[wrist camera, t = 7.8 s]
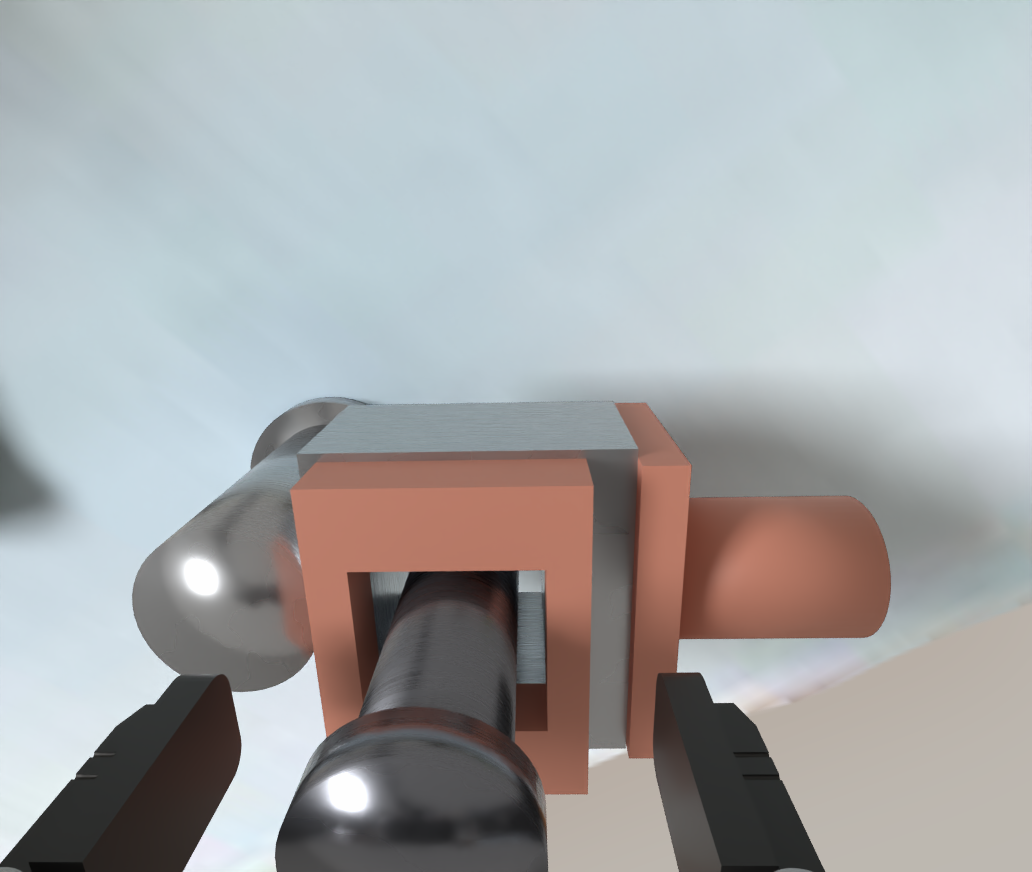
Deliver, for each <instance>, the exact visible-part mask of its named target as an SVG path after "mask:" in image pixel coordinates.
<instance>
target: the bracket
mask: <svg viewBox="0 0 1032 872" xmlns="http://www.w3.org/2000/svg"><path fill="white" fill-rule="evenodd" d="M614 404H615V406H616V408H617V410H618V411H619V413H620V415H621V417H622V419H623V421H624V423H625V424H626V426H627V428H628V430H629V432H630V434H631V436H632V438H633V439H634V441H635V443H636V445H637V447H638V472H637V495H636V519H635V542H634V565H633V588H632V611H631V634H630V657H629V680H628V703H627V726H626V746H627V751H628V755H629V758H654V756H653V729H654V712H655V696H656V681H657V675H658V673H677V660H678V646H679V639H757V638H865V637H869V636H871V635H873V634H874V633H875V632H877V630H878V629H879V628H880V627H881V625H882V623H883V621H884V619H885V617H886V614H887V610H888V606H889V601H890V591H891V575H890V565H889V559H888V554H887V550H886V546H885V542H884V539H883V536H882V534H881V531H880V529H879V527H878V525H877V523H876V521H875V519H874V517H873V516H872V514H871V513H870V511H869V510H868V509H867V508H866V507H865V506H864V505H863V504H862V503H861V502H860V501H858V500H857V499H855V498H853V497H850V496H788V497H710V498H689V494H690V480H691V467H692V465H691V464H690V463H689V461H688V460H687V458H686V457H685V456H684V454H683V453H682V452H681V450H680V449H679V448H678V446H677V445H676V443H675V442H674V441H673V439H672V438H671V437H670V435H669V434H668V432H667V431H666V430H665V428H664V427H663V426H662V424H661V423H660V422H659V420H658V419H657V417H656V416H655V415H654V413H653V412H652V411H651V409H650V408H649V406H648V405H647V404H646V403H614ZM290 493H291V500H292V507H293V513H294V520H295V527H296V534H297V540H298V547H299V554H300V561H301V567H302V574H303V581H304V588H305V594H306V601H307V608H308V615H309V621H310V628H311V635H312V642H313V648H314V655H315V662H316V669H317V675H318V682H319V689H320V696H321V702H322V709H323V716H324V723H325V729H326V736H327V737H328V736H329V735H331V734H332V733H333V732H334V731H336V730H337V729H338V728H340V727H342V726H343V725H345V724H347V723H349V722H350V721H352V720H355V719H357V718H358V717H359V714H360V711H361V708H362V705H363V702H364V700H365V697H366V694H367V691H368V688H369V685H370V682H371V680H372V677H373V674H374V671H375V668H376V665H377V662H378V660H379V653H378V644H377V635H376V626H375V617H374V608H373V598H372V589H371V580H370V572H414V571H513V570H545V659H546V683H540V684H516V718H515V744H517V745H518V746H519V747H520V748H521V750H522V751H523V752H524V753H525V754H526V755H527V756H528V758H529V759H530V761H531V762H532V764H533V765H534V767H535V768H536V770H537V772H538V775H539V777H540V779H541V781H542V785H543V789H544V793H545V794H588V750H589V698H590V647H591V595H592V544H593V493H594V485H593V482H592V478H591V474H590V471H589V467H588V463H587V459H516V460H446V461H376V462H316V463H315V464H314V465H313V466H312V467H311V468H310V469H309V470H308V471H307V472H306V473H305V474H304V476H303V477H302V478H301V479H300V480H299V481H298V482H297V483H296V484H295V485H294V486H293V487H292V488H291V489H290Z"/></svg>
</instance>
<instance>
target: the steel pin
mask: <svg viewBox="0 0 1032 872" xmlns="http://www.w3.org/2000/svg"><path fill="white" fill-rule="evenodd" d="M518 587H519V570H513V571H414V572H409V574H408V577H407V580H406V583H405V585H404V588H403V591H402V594H401V597H400V600H399V602H398V605H397V608H396V611H395V614H394V617H393V620H392V622H391V625H390V628H389V631H388V634H387V637H386V640H385V642H384V645H383V648H382V651H381V654H380V657H379V660H378V662H377V665H376V668H375V671H374V674H373V677H372V680H371V682H370V685H369V688H368V691H367V694H366V697H365V700H364V702H363V705H362V708H361V711H360V714H359V717H358V718H357V719H355V720H352V721H350V722H349V723H347V724H345V725H343V726H342V727H340V728H338V729H337V730H336V731H334V732H333V733H332V734H331V735H329V736H328V737H327V738H326V739H325V740H324V741H323V742H322V743H321V744H320V745H319V746H318V747H317V749H316V750H315V752H314V753H313V755H312V756H311V758H310V760H309V762H308V764H307V766H306V768H305V771H304V773H303V775H302V778H301V780H300V783H299V785H298V787H297V790H296V792H295V795H294V797H293V799H292V802H291V804H290V807H289V809H288V811H287V814H286V816H285V819H284V821H283V824H282V826H281V828H280V831H279V834H278V838H277V842H276V851H275V860H276V869H277V872H548V855H547V826H546V802H545V793H544V789H543V785H542V781H541V779H540V777H539V775H538V772H537V770H536V768H535V767H534V765H533V764H532V762H531V761H530V759H529V758H528V756H527V755H526V754H525V753H524V752H523V751H522V750H521V748H520V747H519V746H518V745H517V744H515V718H516V674H517V631H518Z"/></svg>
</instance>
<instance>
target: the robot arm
mask: <svg viewBox="0 0 1032 872" xmlns="http://www.w3.org/2000/svg"><path fill="white" fill-rule="evenodd" d="M768 753H769V752H768V750H767V748H766V746H765V743H764V741H763V739H762V738H761V735H760V733H759V731H758V729H757V726H756V725H755V724H754V723H753V722H752V721H751V720H750V719H749V718H748V717H747V716H746V715H745V714H744V713H743V712H742V711H741V710H740V709H739V708H738V707H737V706H736V705H735V704H734V703H713V701H712V698H711V696H710V693H709V691H708V688H707V686H706V683H705V681H704V679H703V676H702V675H701V674H700V673H658V675H657V681H656V696H655V712H654V729H653V756H654V765H655V771H656V778H657V782H658V786H659V790H660V794H661V798H662V803H663V807H664V811H665V815H666V819H667V823H668V828H669V832H670V836H671V840H672V844H673V848H674V853H675V856H676V861H677V865H678V869H679V872H825V870H824V868H823V866H822V865H821V862H820V860H819V858H818V856H817V854H816V852H815V849H814V847H813V845H812V843H811V841H810V839H809V837H808V835H807V832H806V830H805V828H804V826H803V824H802V822H801V820H800V818H799V815H798V814H797V811H796V809H795V807H794V805H793V803H792V801H791V799H790V796H789V795H788V792H787V790H786V788H785V786H784V784H783V782H782V780H780V778H779V773H778V771H777V769H776V767H775V765H774V762H773V760H772V759H771V757H769V754H768ZM240 756H241V736H240V731H239V727H238V722H237V717H236V712H235V707H234V702H233V697H232V692H231V687H230V683H229V680H228V678H227V677H226V676H225V675H224V674H183V675H180V676H178V677H177V678H176V679H175V680H174V681H173V682H172V683H171V684H170V686H169V687H168V688H167V689H166V691H165V692H164V693H163V694H162V696H161V697H160V698H159V699H158V701H157V702H156V703H155V704H152V705H145V706H143V707H142V708H141V709H139V710H138V711H137V712H135V713H134V714H132V715H131V716H130V717H128V718H127V719H126V720H124V721H123V722H122V723H120V724H119V725H118V726H116V727H115V728H114V730H113V731H112V732H111V733H110V734H109V736H108V737H107V738H106V739H105V740H104V741H103V743H102V744H101V745H100V746H99V747H98V749H97V750H96V751H95V752H94V757H93V758H89V759H88V760H87V762H86V763H85V764H84V765H83V766H82V767H81V769H80V770H79V771H78V772H77V773H76V778H75V779H74V780H71V781H70V782H69V783H68V784H67V785H66V786H65V788H64V789H63V790H62V791H61V792H60V794H59V795H58V796H57V797H56V798H55V799H54V801H53V802H52V803H51V804H50V805H49V807H48V808H47V809H46V810H45V811H44V812H43V814H42V815H41V816H40V817H39V818H38V820H37V821H36V822H35V823H34V824H33V825H32V827H31V828H30V829H29V830H28V831H27V833H26V834H25V835H24V836H23V837H22V839H21V840H20V841H19V842H18V843H17V844H16V846H15V847H14V848H13V849H12V850H11V852H10V853H9V854H8V855H7V856H6V857H5V859H4V860H3V861H2V862H1V863H0V872H183V870H184V868H185V866H186V865H187V863H188V861H189V859H190V857H191V855H192V854H193V852H194V850H195V848H196V846H197V844H198V843H199V841H200V839H201V837H202V835H203V833H204V832H205V830H206V828H207V826H208V824H209V822H210V821H211V819H212V817H213V815H214V813H215V811H216V810H217V808H218V806H219V804H220V802H221V800H222V799H223V797H224V795H225V793H226V791H227V789H228V788H229V786H230V784H231V782H232V780H233V778H234V776H235V774H236V771H237V768H238V765H239V761H240Z"/></svg>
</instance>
